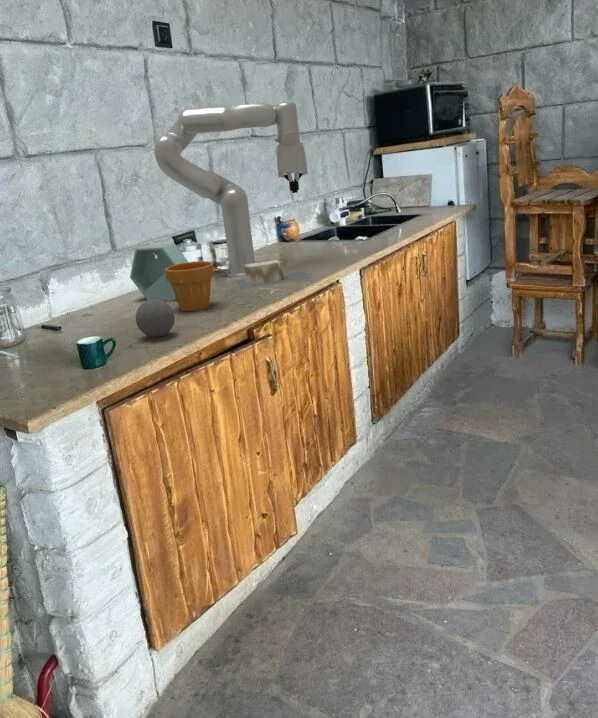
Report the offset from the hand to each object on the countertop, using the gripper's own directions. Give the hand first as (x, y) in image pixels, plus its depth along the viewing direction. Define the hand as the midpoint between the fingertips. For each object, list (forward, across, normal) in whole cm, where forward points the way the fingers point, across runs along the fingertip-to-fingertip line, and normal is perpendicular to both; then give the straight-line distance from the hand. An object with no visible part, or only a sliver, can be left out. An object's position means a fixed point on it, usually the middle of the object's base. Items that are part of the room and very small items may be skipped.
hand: (294, 192), depth 248 cm
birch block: (+24, -11, -19) cm, 32 cm away
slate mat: (+27, -14, -19) cm, 36 cm away
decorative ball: (+27, -52, -72) cm, 92 cm away
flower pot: (+27, -41, -43) cm, 66 cm away
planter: (+27, -51, -22) cm, 62 cm away
